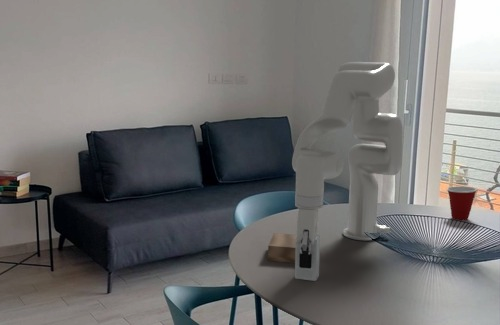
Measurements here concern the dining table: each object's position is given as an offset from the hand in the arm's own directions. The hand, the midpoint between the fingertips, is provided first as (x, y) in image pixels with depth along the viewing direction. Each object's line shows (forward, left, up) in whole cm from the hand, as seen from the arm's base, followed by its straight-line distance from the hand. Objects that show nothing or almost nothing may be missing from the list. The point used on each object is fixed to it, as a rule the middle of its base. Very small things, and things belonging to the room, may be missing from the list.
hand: (307, 261), depth 149 cm
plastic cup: (-50, -71, -5) cm, 87 cm away
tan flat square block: (+7, -16, -5) cm, 18 cm away
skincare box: (0, 0, -5) cm, 5 cm away
